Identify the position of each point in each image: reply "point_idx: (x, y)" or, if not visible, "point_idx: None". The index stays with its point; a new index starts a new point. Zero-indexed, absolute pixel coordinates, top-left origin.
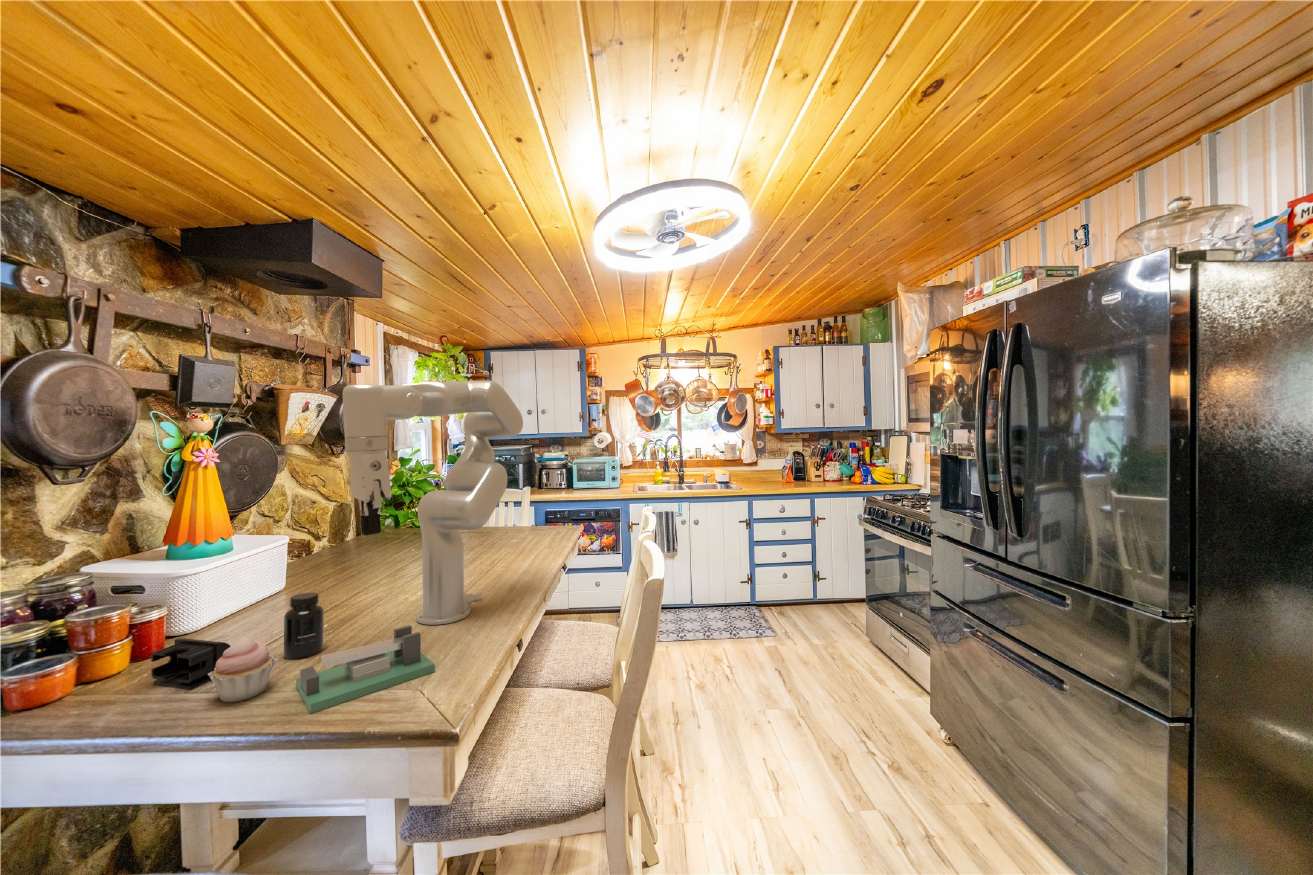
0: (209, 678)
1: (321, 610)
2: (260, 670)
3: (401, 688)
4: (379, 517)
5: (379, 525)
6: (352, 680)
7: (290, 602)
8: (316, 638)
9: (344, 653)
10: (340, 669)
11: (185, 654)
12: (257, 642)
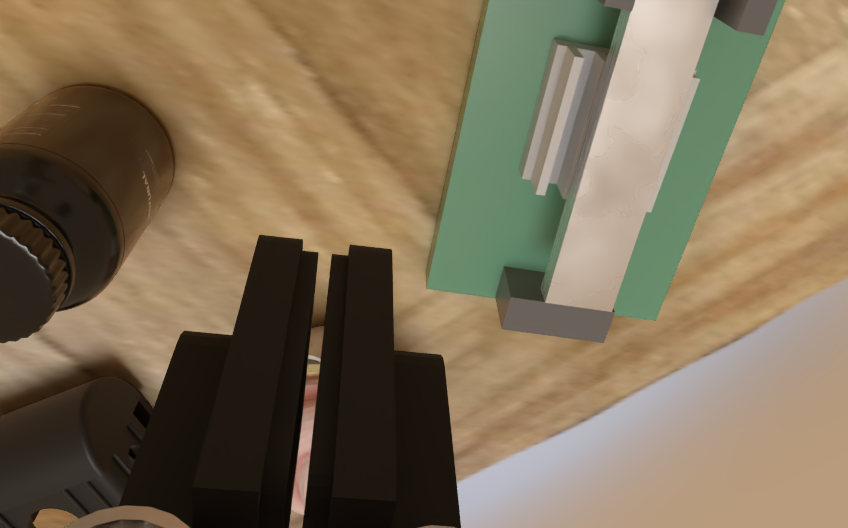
0: (144, 406)
1: (70, 179)
2: None
3: (787, 66)
4: (387, 438)
5: (391, 330)
6: None
7: None
8: (147, 157)
9: (603, 242)
10: (488, 172)
11: None
12: (305, 444)
